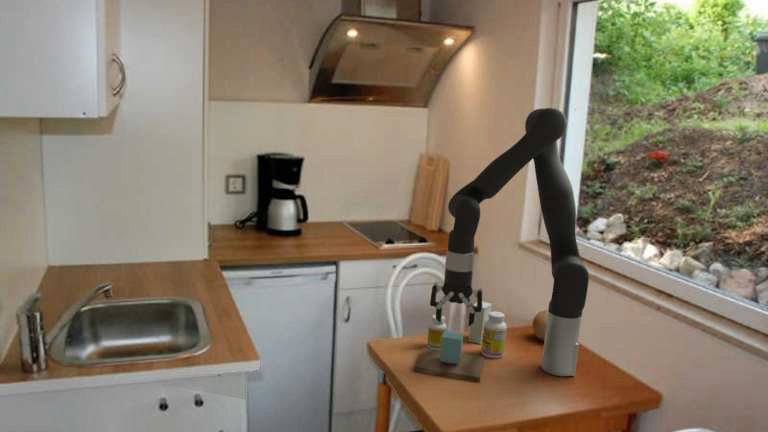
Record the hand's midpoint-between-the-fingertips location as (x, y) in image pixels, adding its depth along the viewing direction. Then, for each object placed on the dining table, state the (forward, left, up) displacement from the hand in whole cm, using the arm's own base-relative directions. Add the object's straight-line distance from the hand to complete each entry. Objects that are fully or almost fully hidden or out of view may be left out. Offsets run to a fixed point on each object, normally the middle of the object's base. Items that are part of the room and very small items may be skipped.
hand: (454, 322), depth 180 cm
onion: (-27, -33, -14) cm, 45 cm away
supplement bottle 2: (-11, -14, -14) cm, 22 cm away
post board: (0, 0, -13) cm, 13 cm away
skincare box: (-6, -24, -14) cm, 28 cm away
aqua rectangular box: (0, 0, -11) cm, 11 cm away
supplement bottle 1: (+6, -13, -14) cm, 20 cm away
